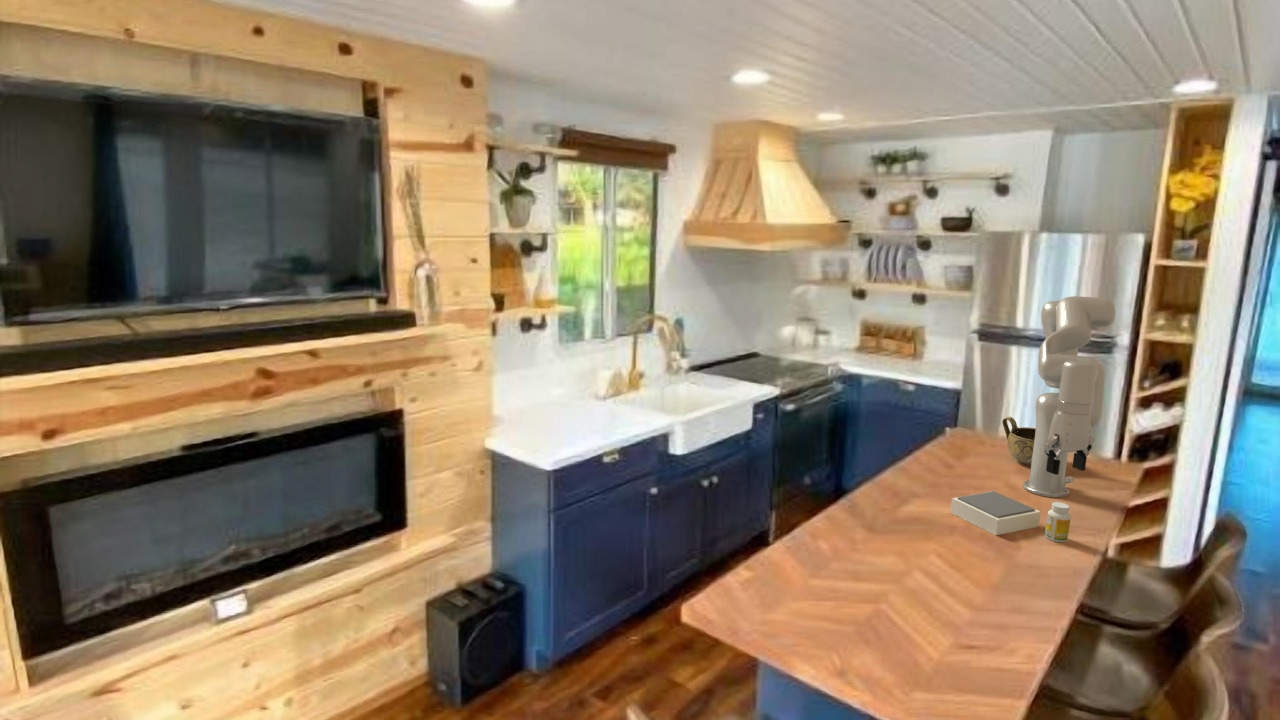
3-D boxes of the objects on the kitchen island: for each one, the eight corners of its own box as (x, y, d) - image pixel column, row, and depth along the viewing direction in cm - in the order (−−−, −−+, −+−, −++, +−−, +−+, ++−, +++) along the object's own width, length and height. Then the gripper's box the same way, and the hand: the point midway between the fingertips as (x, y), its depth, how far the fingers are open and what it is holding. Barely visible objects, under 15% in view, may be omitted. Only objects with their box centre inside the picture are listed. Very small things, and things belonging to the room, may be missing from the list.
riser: (991, 505, 214) (993, 489, 213) (1038, 526, 199) (1040, 509, 198) (950, 512, 208) (952, 496, 207) (995, 535, 194) (997, 518, 193)
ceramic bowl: (1075, 466, 248) (1081, 425, 245) (1057, 478, 237) (1063, 434, 234) (1008, 450, 265) (1013, 411, 262) (988, 460, 254) (993, 419, 251)
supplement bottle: (1041, 537, 193) (1045, 504, 191) (1049, 532, 196) (1053, 499, 194) (1062, 544, 189) (1067, 510, 187) (1070, 539, 192) (1075, 505, 190)
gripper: (1083, 402, 192) (1075, 463, 195) (1037, 407, 185) (1029, 470, 188) (1111, 409, 185) (1101, 472, 188) (1063, 414, 178) (1054, 479, 181)
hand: (1065, 471), depth 188 cm, fingers open, 9 cm apart
